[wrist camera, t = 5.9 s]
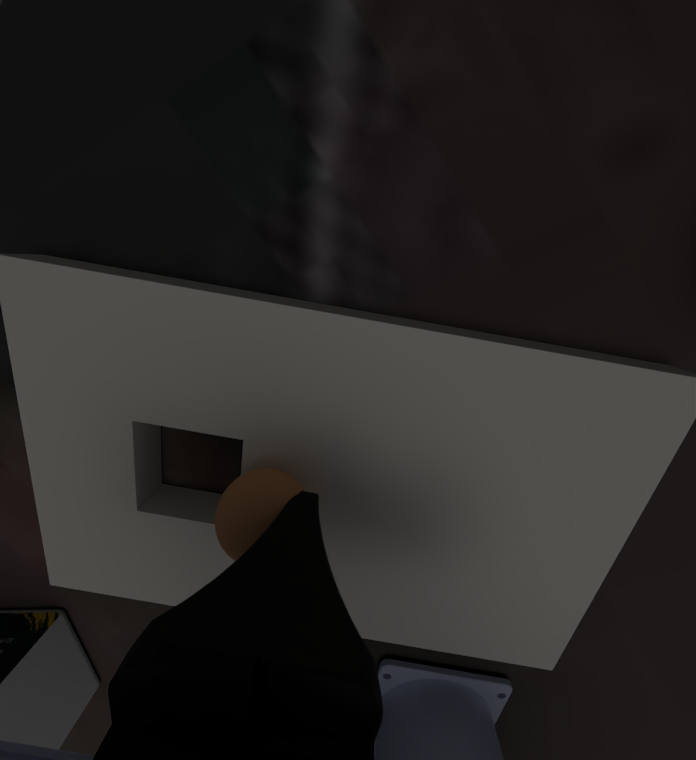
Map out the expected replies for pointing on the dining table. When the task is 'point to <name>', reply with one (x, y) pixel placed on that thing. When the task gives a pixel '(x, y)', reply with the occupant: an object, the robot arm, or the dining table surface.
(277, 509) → the ball
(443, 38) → the dining table surface
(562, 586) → the white flat board
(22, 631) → the medicine bottle
